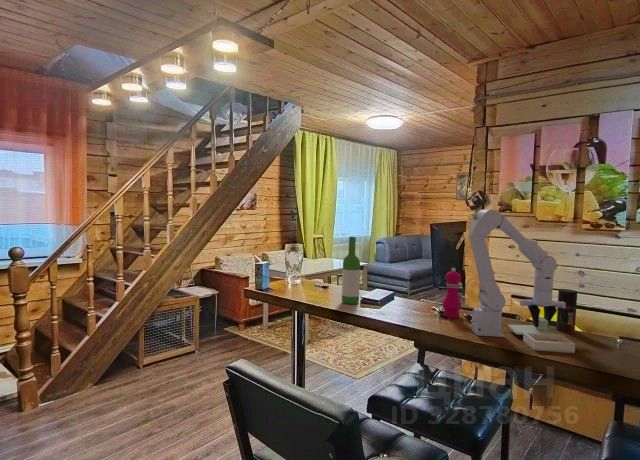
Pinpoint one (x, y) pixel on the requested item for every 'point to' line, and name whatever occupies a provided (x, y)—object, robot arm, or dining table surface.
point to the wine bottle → (351, 275)
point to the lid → (531, 328)
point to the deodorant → (567, 311)
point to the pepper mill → (452, 295)
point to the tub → (549, 342)
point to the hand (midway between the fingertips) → (540, 326)
